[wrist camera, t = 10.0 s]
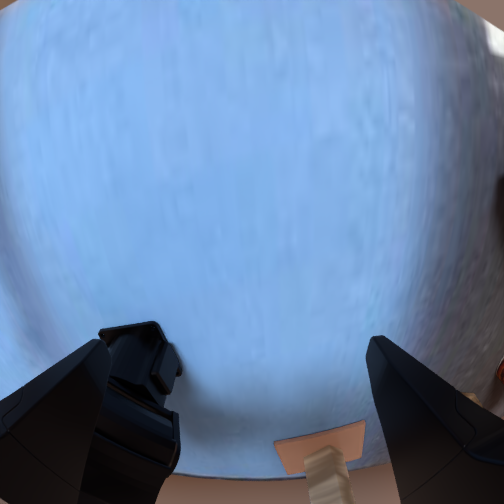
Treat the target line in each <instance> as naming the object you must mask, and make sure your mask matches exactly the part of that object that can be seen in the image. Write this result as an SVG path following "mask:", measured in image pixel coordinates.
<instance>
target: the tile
mask: <svg viewBox="0 0 504 504" xmlns="http://www.w3.org/2000/svg"><path fill="white" fill-rule="evenodd" d="M364 432H365V421H364V420H362V421H359V422H356V423H353V424H349V425H346V426H342V427H339V428H335V429H331V430H327V431H323V432H319V433H315V434H310V435H306V436H301V437H296V438H291V439H286V440H280V441H274V446H275V448H276V451H277V453H278V455H279V457H280V459H281V462H282V464H283V466H284V468H285V470H286V472H287V475H290V474H295V473H301V472H306V471H305V465H304V459H303V457H305V456H307V455H309V454H311V453H313V452H315V451H318V450H320V449H322V448H324V447H326V446H328V445H331V446H334V447H336V448H339V449H341V450H342V451H343V455H344V459H345V462H348V461H351V460H355V459H358V458H361V455H362V448H363V440H364Z"/></svg>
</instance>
